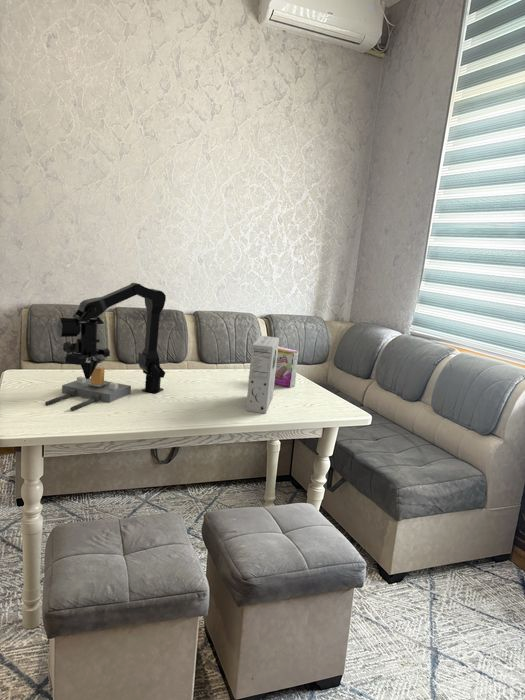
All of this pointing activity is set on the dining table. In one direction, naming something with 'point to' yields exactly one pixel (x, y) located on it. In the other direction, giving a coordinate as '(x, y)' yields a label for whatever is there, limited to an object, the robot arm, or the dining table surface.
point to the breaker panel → (96, 390)
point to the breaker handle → (97, 377)
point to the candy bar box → (286, 367)
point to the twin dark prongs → (68, 397)
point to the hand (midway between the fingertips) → (87, 378)
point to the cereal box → (262, 374)
